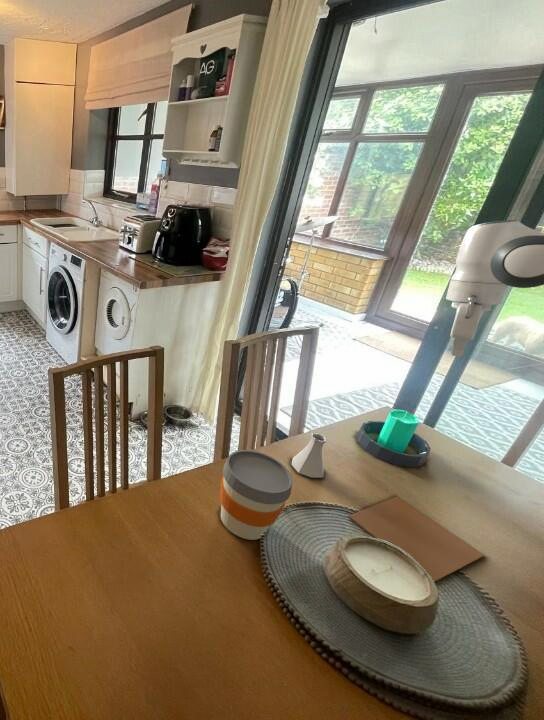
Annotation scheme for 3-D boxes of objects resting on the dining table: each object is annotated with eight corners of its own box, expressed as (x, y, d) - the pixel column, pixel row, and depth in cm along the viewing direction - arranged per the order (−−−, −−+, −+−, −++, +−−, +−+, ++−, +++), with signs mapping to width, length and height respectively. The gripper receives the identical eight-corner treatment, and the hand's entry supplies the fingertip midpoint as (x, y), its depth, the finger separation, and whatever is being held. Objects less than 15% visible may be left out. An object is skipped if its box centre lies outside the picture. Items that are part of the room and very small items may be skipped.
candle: (376, 437, 115) (392, 402, 109) (403, 446, 111) (422, 410, 106) (375, 448, 110) (392, 412, 105) (403, 458, 107) (422, 421, 102)
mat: (483, 556, 82) (484, 555, 82) (432, 583, 77) (433, 581, 77) (396, 497, 95) (396, 496, 95) (348, 516, 91) (348, 515, 90)
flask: (295, 475, 102) (306, 443, 97) (287, 456, 108) (298, 425, 104) (328, 481, 100) (341, 449, 96) (318, 461, 106) (331, 430, 102)
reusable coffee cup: (242, 493, 97) (257, 443, 90) (289, 536, 86) (309, 483, 80) (199, 508, 93) (212, 457, 86) (242, 555, 82) (260, 501, 76)
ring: (437, 458, 107) (443, 448, 105) (401, 472, 102) (406, 462, 101) (379, 426, 119) (383, 416, 118) (344, 437, 115) (348, 427, 113)
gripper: (494, 300, 84) (475, 363, 88) (494, 292, 98) (478, 347, 101) (451, 296, 89) (435, 357, 92) (457, 289, 102) (442, 342, 106)
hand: (457, 352), depth 97 cm, fingers open, 8 cm apart
